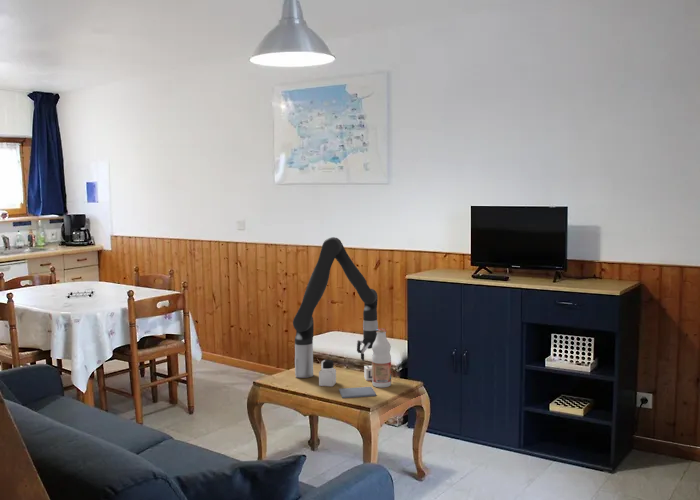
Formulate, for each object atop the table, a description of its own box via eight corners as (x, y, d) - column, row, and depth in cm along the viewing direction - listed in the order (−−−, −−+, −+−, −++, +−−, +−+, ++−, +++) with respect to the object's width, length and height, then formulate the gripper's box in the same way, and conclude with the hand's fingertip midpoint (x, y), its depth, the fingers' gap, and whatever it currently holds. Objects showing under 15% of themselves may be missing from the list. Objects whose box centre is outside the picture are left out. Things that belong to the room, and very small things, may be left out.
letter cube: (366, 380, 328) (366, 368, 327) (364, 377, 334) (364, 365, 333) (378, 380, 329) (378, 368, 328) (375, 376, 335) (375, 365, 334)
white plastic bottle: (368, 384, 321) (367, 328, 319) (383, 381, 327) (383, 326, 324) (379, 389, 314) (379, 332, 311) (395, 385, 319) (394, 329, 316)
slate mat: (342, 398, 301) (342, 396, 301) (338, 390, 313) (338, 388, 313) (376, 395, 303) (376, 394, 303) (371, 388, 315) (371, 386, 315)
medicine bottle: (336, 382, 326) (335, 358, 324) (333, 386, 319) (332, 362, 317) (322, 381, 327) (322, 358, 326) (318, 385, 320) (318, 362, 319)
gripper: (382, 326, 334) (383, 357, 335) (355, 327, 331) (356, 359, 333) (385, 329, 326) (386, 360, 328) (358, 331, 324) (358, 362, 326)
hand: (371, 359), depth 330 cm, fingers open, 8 cm apart
